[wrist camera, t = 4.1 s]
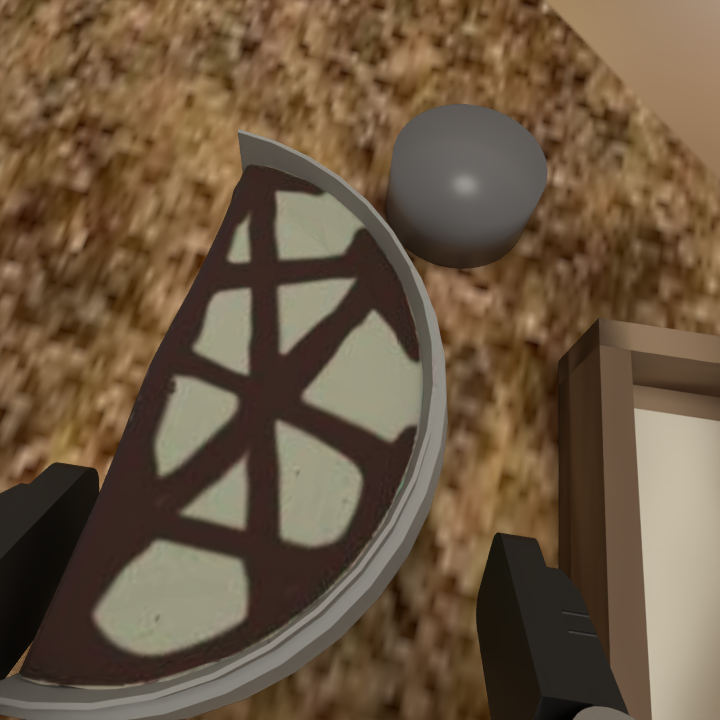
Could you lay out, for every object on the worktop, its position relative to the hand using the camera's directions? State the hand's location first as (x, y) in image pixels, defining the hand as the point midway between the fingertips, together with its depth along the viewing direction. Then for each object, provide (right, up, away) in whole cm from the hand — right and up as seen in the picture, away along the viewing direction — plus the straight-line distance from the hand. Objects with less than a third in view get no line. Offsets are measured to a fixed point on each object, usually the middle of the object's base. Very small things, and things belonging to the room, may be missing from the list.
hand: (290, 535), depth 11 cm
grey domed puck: (+5, +10, +13) cm, 18 cm away
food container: (0, -1, +8) cm, 8 cm away
